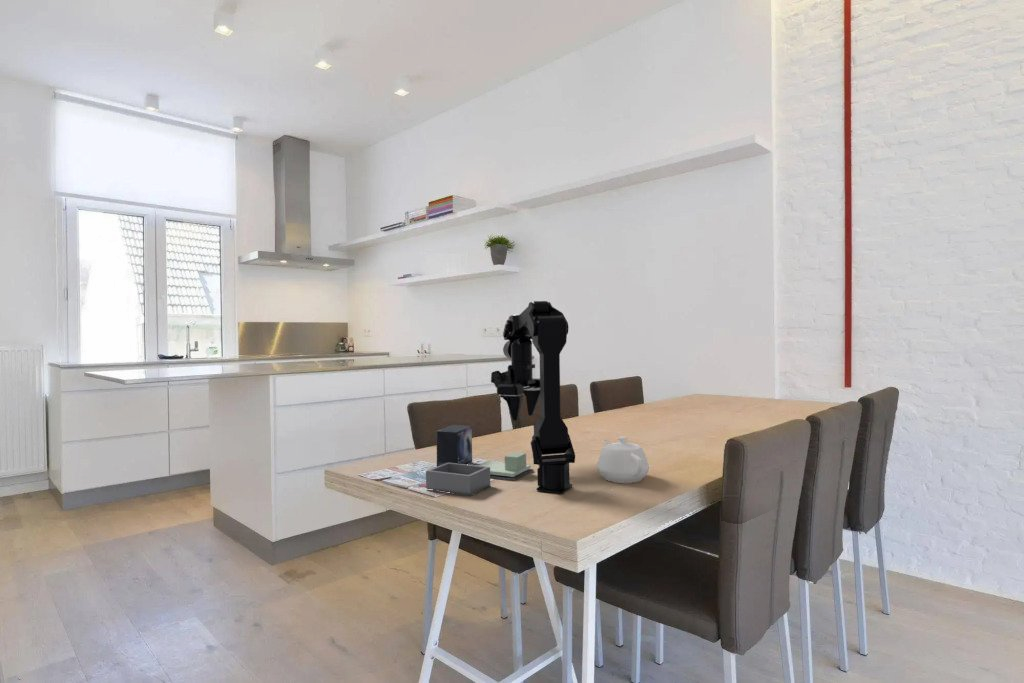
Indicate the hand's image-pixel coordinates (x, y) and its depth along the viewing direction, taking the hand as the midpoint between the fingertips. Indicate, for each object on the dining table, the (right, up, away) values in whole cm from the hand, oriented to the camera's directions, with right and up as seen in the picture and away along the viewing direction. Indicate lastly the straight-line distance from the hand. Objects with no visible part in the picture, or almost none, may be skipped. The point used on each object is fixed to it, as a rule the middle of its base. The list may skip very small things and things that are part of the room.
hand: (523, 417), depth 156 cm
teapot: (+24, -13, -17) cm, 32 cm away
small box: (-19, -13, -1) cm, 23 cm away
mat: (-6, -13, -10) cm, 17 cm away
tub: (-16, -13, -23) cm, 31 cm away
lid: (-6, -13, -10) cm, 17 cm away
